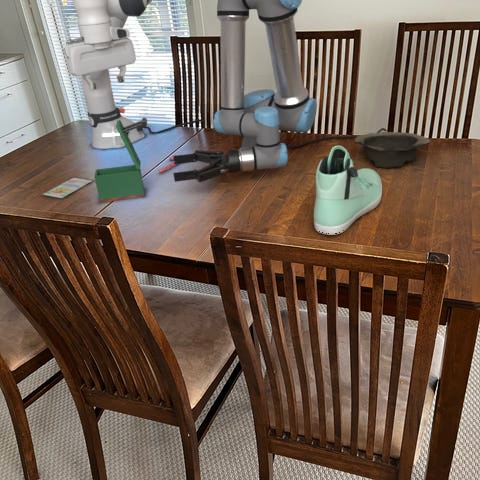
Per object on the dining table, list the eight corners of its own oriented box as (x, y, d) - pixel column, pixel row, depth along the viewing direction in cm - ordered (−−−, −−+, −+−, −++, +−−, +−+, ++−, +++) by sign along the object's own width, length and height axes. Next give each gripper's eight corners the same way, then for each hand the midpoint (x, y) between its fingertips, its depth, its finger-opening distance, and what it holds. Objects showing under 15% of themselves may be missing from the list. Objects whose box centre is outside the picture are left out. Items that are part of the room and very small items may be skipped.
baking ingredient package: (42, 193, 161) (73, 176, 172) (42, 194, 161) (73, 178, 173) (61, 197, 157) (92, 180, 169) (62, 198, 158) (92, 181, 169)
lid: (115, 126, 142) (143, 115, 142) (116, 120, 147) (143, 110, 147) (137, 169, 150) (163, 159, 150) (137, 163, 155) (162, 153, 155)
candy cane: (149, 171, 173) (148, 167, 172) (176, 156, 183) (176, 153, 182) (161, 174, 170) (160, 170, 169) (188, 159, 180) (188, 155, 179)
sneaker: (389, 187, 148) (396, 123, 138) (356, 242, 123) (361, 168, 112) (346, 181, 154) (350, 119, 144) (306, 232, 129) (307, 161, 118)
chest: (100, 202, 154) (94, 176, 149) (102, 194, 159) (95, 169, 154) (144, 196, 155) (139, 171, 151) (144, 189, 160) (139, 164, 156)
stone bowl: (388, 178, 153) (388, 150, 149) (339, 160, 173) (338, 135, 169) (444, 159, 162) (447, 132, 158) (392, 144, 182) (392, 120, 178)
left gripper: (67, 41, 124) (80, 95, 131) (133, 29, 136) (142, 79, 143) (56, 40, 128) (69, 92, 135) (121, 28, 140) (130, 77, 147)
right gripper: (245, 187, 147) (176, 196, 145) (236, 156, 168) (175, 163, 166) (243, 165, 143) (172, 173, 141) (234, 135, 164) (172, 143, 162)
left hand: (107, 85), depth 139 cm, fingers open, 8 cm apart
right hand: (173, 168), depth 154 cm, fingers open, 13 cm apart
